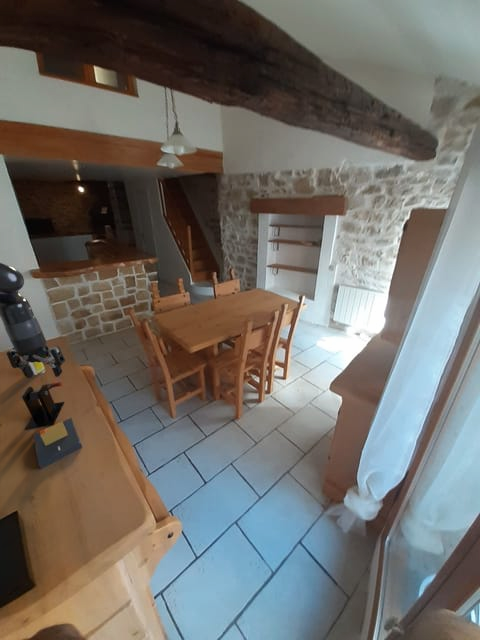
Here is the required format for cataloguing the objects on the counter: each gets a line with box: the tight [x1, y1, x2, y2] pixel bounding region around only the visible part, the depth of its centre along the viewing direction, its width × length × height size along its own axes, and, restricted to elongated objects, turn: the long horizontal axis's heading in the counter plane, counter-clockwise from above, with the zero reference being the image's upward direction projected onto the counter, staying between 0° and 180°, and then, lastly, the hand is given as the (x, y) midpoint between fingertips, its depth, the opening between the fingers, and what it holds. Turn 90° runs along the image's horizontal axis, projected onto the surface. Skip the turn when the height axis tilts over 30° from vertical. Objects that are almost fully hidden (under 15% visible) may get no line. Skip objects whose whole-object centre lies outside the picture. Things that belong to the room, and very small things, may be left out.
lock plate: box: [32, 417, 83, 470], centre depth 75 cm, size 12×10×3 cm
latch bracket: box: [21, 384, 65, 431], centre depth 82 cm, size 10×8×12 cm
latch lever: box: [29, 381, 63, 400], centre depth 85 cm, size 13×5×2 cm, turn 14°
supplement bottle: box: [28, 362, 46, 376], centre depth 103 cm, size 5×5×10 cm
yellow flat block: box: [39, 421, 68, 446], centre depth 73 cm, size 6×2×5 cm, turn 132°
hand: (44, 375), depth 81 cm, fingers open, 8 cm apart
